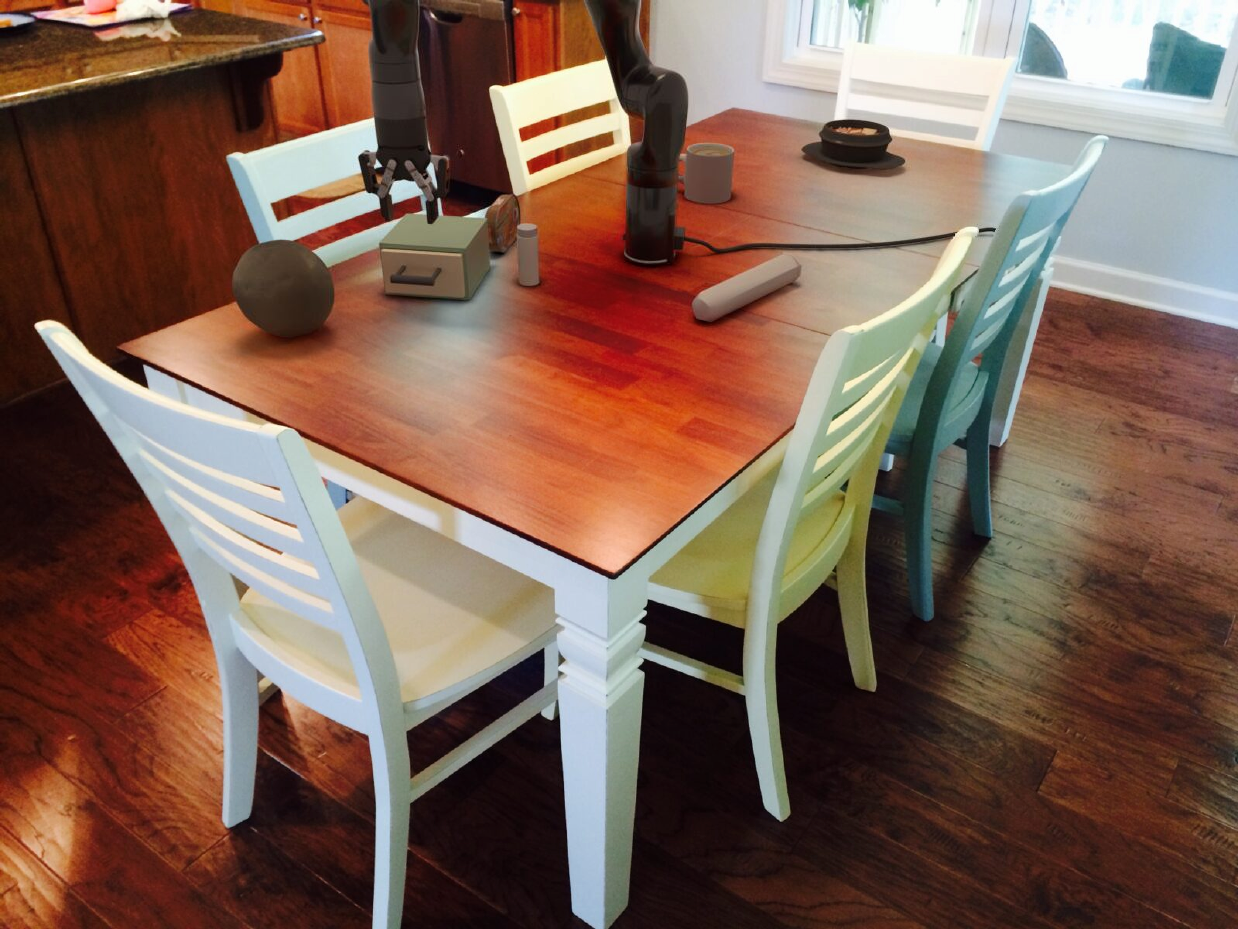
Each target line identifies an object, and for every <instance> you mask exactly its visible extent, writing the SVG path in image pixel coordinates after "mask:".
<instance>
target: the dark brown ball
mask: <svg viewBox="0 0 1238 929" xmlns="http://www.w3.org/2000/svg"><path fill="white" fill-rule="evenodd" d="M231 281H232V283H231V284H232V285H231V287H232V293H233V294H232V295H233V297H234V299H235V303H236V304H237V306H238V308H239V309H240V311H241V313H242V315H243V316H244V317H245V318H246V319H247V320H248V321H249V322H251V323H252V324H253V325H255V326H256V327H257V328H259V329H260V330H262V331H263V332H266V333H268V334H271V335H275V336H276V337H281V338H294V337H299V336H304V335H307V334H310V333H311V332H314V331H316V330H317V329H319V328H320V327H321V326H322V325H323V324H324V323H325V322H326V321H327V319H328V317H329V316H330V315H331V313H332V310H333V308H334V304H335V298H336V297H335V296H336V294H335V285H334V282H333V279H332V275H331V272H330V270H329V268H328V267H327V265H326V263H325V262H324V261H323V260H322V258H321V257H320V256H319V255H318V254H316V253H315V252H314V251H312V250H311V249H310V248H308V247H307V246H306V245H304V244H303V243H300V242H297V241H295V240H290V239H273V240H268V241H264V242H259V243H258V244H255V245H254V246H252V247H250V248H248V249H247V250H246V251H245V252H244V253H243V254H242V255H241V257H240V259H239V261H238V263H237V265H236V266H235V268H234V271H233V274H232V280H231Z"/></svg>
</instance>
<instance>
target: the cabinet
mask: <svg viewBox="0 0 1238 929" xmlns="http://www.w3.org/2000/svg"><path fill="white" fill-rule="evenodd" d="M378 246H379V254H380V263H381V272H382V279H383V285H384V294H385V295H386V296H387V295H389V296H400V297H401V296H403V297H417V298H432V299H443V300H444V299H445V300H458V301H459V300H460V301H470V300H471V299H472V297H473V295H474V294H475V292H476V291H477V289H478V287H480V285H481V283H482V281H483V280H484V278H485V277H486V275H487V274H488V272H489V270H490V269H491V257H490V256H491V254H490V250H489V237H488V220H487V218H485V217H471V216H454V215H440V214H439V216H438V218H437V219H436V221H435V222H434V223H433V224H428V223H427V214H421V213H405V214H404V215H403V216H402V217H401V219H400V220H399V221H398V222H397V223H395V225H394V226H393V227H392V228H391V229H390V230H389V231H388V232H387V234H386V235H385V236H383V238H382V239H381V240H380V241H379V242H378ZM390 248H397V249H413V250H428V251H443V252H459V253H461V254H462V256H463V270H464V283H465V296H464V298H459V297H444V296H430V295H416V294H402V293H387V292H386V290H385V282H384V274H383V265H382V257H381V250H382V249H390Z"/></svg>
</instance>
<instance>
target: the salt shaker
mask: <svg viewBox="0 0 1238 929" xmlns="http://www.w3.org/2000/svg"><path fill="white" fill-rule="evenodd" d="M516 246H517V247H516V250H517V273H518V274H517V276H518V283H519V285H521V286H524V287H532V286H533V287H534V286H537V285H539V283H540V256H539V254H540V253H539V251H540V250H539V233H538V225H536V224H535V223H530V222H528V223H527V222H526V223H524V222H523V223H520V225H518V226H517V238H516Z"/></svg>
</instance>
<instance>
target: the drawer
mask: <svg viewBox="0 0 1238 929" xmlns="http://www.w3.org/2000/svg"><path fill="white" fill-rule="evenodd" d="M381 257H382V264H381V266H382V265H383V272H382V275H383V274H384V280H383V283H384V282H385V288H384V291H385V290H386V292H387V293H402V294H416V295H430V296H444V297H459V298H464V296H465V283H464V270H463V256H462V254H461V253H459V252H443V251H428V250H413V249H397V248H390V249H382V250H381V255H380V258H381Z"/></svg>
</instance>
